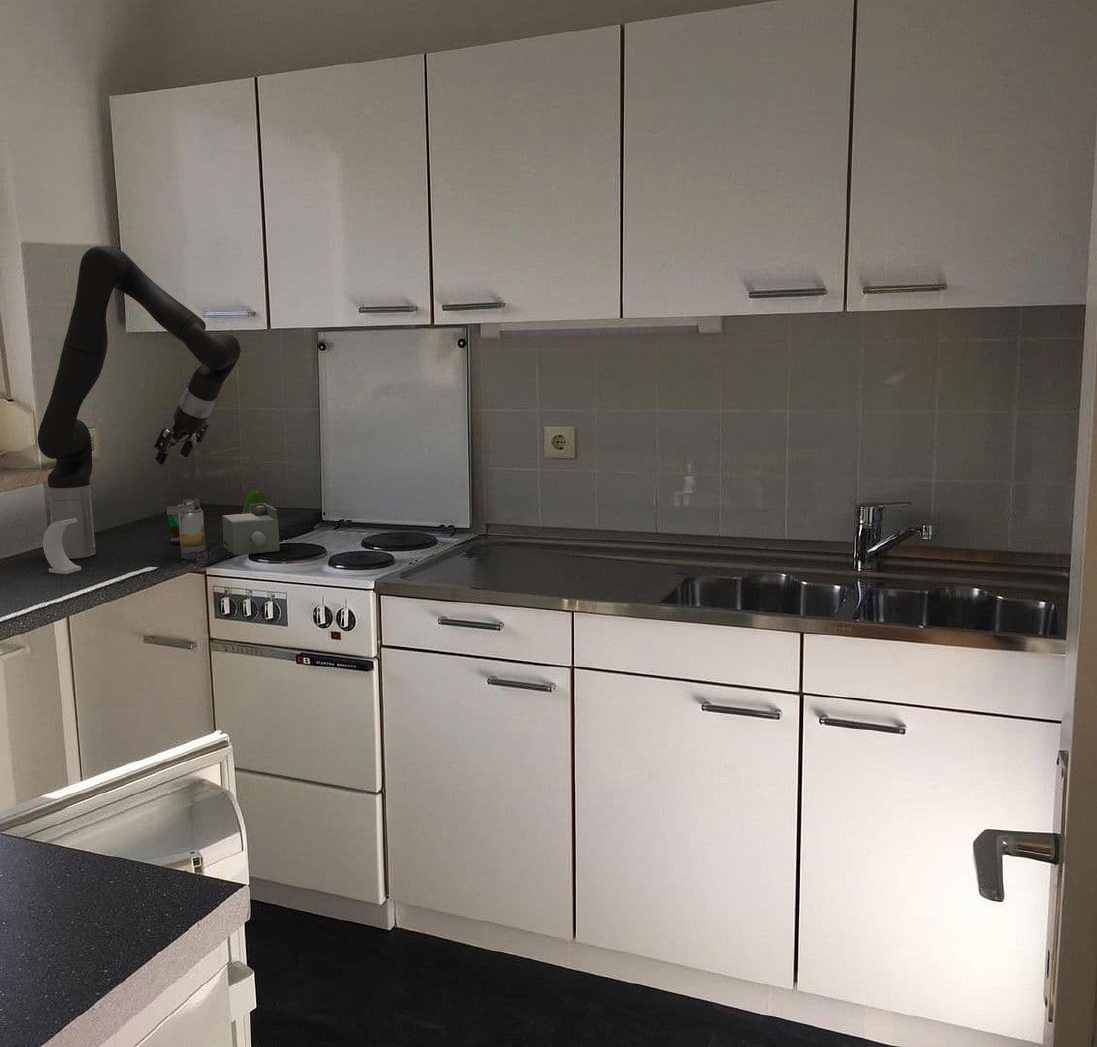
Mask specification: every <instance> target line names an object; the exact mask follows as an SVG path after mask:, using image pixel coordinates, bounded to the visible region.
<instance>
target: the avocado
mask: <svg viewBox="0 0 1097 1047" xmlns="http://www.w3.org/2000/svg"><path fill="white" fill-rule="evenodd" d="M259 503H266V504H268V505H270V506H271V504H270V503H269V500H268V499H267V497H266V495H265V494H263V493H262V492H261V491H259V490H257V489H256V490H251V491H250V492H249V493H248V494H247V495H246V498H245V502H244V506H243V509H242V513H241V514H248V513H249V504H259Z"/></svg>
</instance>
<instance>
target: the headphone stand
mask: <svg viewBox="0 0 1097 1047" xmlns="http://www.w3.org/2000/svg"><path fill="white" fill-rule="evenodd" d="M74 522H77V518H73V519H68V520H63V521H58V522H54V523H52V524H51V523H50V524H49V525H48V527H47V528H46V530H45V531H44V534H43V538H42V544H43V545H42V546H43V547H42V548H43V551H44V556H45V558H46V560H47V562H48V563H49V565H50V566H51V567H50V568H48V572H49V573H54V574H60V575H61V574H62V575H67V574H71V573H74V572H75V573H76V572H78V571H81V570H82V566H81V565H77V564H75V563H74V562H72V561H71V559H68V558H67V556H66V554H65V552H64V550H63V546H62V535H63V531H64V529H65V528H66V526H67V525H69V524H70V523H74Z"/></svg>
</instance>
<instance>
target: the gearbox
mask: <svg viewBox="0 0 1097 1047" xmlns="http://www.w3.org/2000/svg"><path fill="white" fill-rule="evenodd" d="M221 520H222V538H223V539H222V540H223V542H224V541H226V542H227V544H228V546H227V545H226V544H224V543H223V548H225V549H226V550H227V551H228V552H230V553H231V554H232V555H234V556H243V555H252V554H261V553H263V554H264V553H270V552H273V553H274V552H280V550H281V549H280V533H279V532H280V531H279V518H278V509H277V508H275V507H273V506H272V505H271V504H270V505H268V504H266V503H259V504H249V513H248V514H242V513H237V514H228V515H227V514H225V515H224V514H223V515H221Z"/></svg>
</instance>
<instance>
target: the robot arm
mask: <svg viewBox="0 0 1097 1047" xmlns="http://www.w3.org/2000/svg"><path fill="white" fill-rule="evenodd" d="M79 263H80V264H79V271H78V278H77V286H76V294H75V298H74V299H75V300H74V304H73V309H72V312H71V315H70V319H69V324H68V328H67V330H66V331H67V332H66V335H65V337H64V340H63V346H62V350H61V352H60V353H61V354H60V359H59V364H58V366H57V367H58V368H57V372H56V374H55V380H54V382H53V387H52V389H51V390H52V391H51V395H50V398H49V401H48V405H47V407H46V409H45V411H44V415H43V417H42V420H41V423H40V425H39V428H38V432H37V446H38V449H39V451H40V452H41V453H42V454H43V455H44V456H45V457H46V458H48V459H52V460H56V463H55V466H54V468H53V469H52V471H51V472H50V473H49V474H48V475H47V487H48V498H49V509H50V510H49V512H50V517H49V519H50V525H51V524H52V523H54V522H58V521H63V520H68V519H73V518H77V522H74V523H70V524H69V525H67V526H66V528H65V529H64V531H63V535H62V546H63V550H64V552H65V554H66V556H67V558H68V559H69V560H71V559H72V560H73V559H82V558H88V557H92V556H95V555H96V541H95V540H96V539H95V529H94V528H95V526H94V518H93V517H94V516H93V502H92V492H91V491H92V490H91V475H92V473H93V447H92V446H93V444H92V443H93V442H92V436H91V433H90V432H91V431H90V430H89V427H88V426H87V425H86V423H85V422H83V421H82V420H80V419H78V415H79V411H80V409H81V407H82V404H83V402H84V400H85V399H86V397H87V396H88V395H89V393H90V391H92V389H93V388H94V386H95V384H96V382H97V381H98V379H99V378H100V375H101V373H102V370H103V367H104V363H105V359H106V355H107V352H108V344H109V342H108V340H109V339H108V338H109V337H108V329H107V328H108V326H107V312H108V311H107V310H108V306H109V302H110V298H111V296H112V293H113V291H114V289H116V290H117V291H120V292H122V293H124V294H125V295H126V296H129V297H130V298H132V299H133V300H134V301H136V302H137V303H138V304H140V306H142V307H143V308H144V309H145V311H146V312H147V313H148V314H149V315H150V316H151V318H153V320H154V321H155V322H156V323H158V325H159V326H161V327H162V328H163V329H165V331H167V332H168V333H169V334H171V335H172V336H174V337H175V338H176V339H178V340H179V341H181V343H183V344H184V346H186V347H187V349H188V350H189V352H191V354H192V355H193V356H194V357H195V358H196V359H197V361H198V362H199V363H201V365H199V367H198V368H196V370H194V372H193V374H192V377H191V378H190V380H189V382H188V385H187V387H186V389H185V390H184V392H183V393H182V395H181V397H180V400H179V402H178V404H177V407H176V409H175V411H174V413H173V420H174V424H173V426H172V427H171V428H169V429H168V428H167V427H163V428H162V429H161V431H160V433H159V436H158V437H157V439H156V441H155V443H154V445H153V446H154V448H155V449H156V450H158V452H157V455H156V456H155V461H156V462H157V463H158V464H159V465H165V462H166V460H167V457H168V455H169V453H170V451H172V449H176V448H177V447H178V446H179V445H180V444H182V443H183V445H182V447H181V449H180V455H181V456H182V457H184V458H189V457H190V454H191V452H192V450H193V448H194V447H195V446H197V444H198V443H199V444H201V443H202V442H203V439H204V438H205V435H206V433H207V430H208V428H209V426H210V425H209V424H208V423H207V422H208V420H209V417H210V415H211V414H212V412H213V409H214V406H215V404H216V401H217V398H218V396H219V395H220V392H221V389H222V387H223V384H224V383H225V381H226V379H227V378H228V377H229V375H230V374H231V372H232V370H234V367H235V366H236V364H237V363H238V360H239V359H240V356H241V352H242V351H241V345H240V342H239V340H238V339H237V338H236V337H235V336H233V335H232V334H228V333H222V334H218V335H216V336H215V337H212V336H211V335H210V334H209V333H208V332H207V331H206V328H207V326H206V325H207V324H206V323H205V321H204V320H203V319H202V318H201V317H200V316H198V315H197V314H196V313H194V312H193V311H192V310H190V309H189V308H188V307H186V306H185V305H184V304H182V303H181V302H180V301H178V300H177V299H176V298H175V297H173V296H171V295H170V294H169V293H168V292H166V291H165V290H164V289H162V287H160V286H159V285H158V284H157V283H156V282H155V281H153V280H152V279H151V278H150V277H149V276H148V275H147V274H146V273H145V272H144V271H143V270H142V269H141V268H140V267H139V266H138V265H137V264H136V263H135V262H134V260H132V259H131V257H129V256H128V255H127V254H126V253H125V252H124V251H122V250H121V249H119V248H116V247H111V246H99V245H98V246H93V247H91V248H89V249H88V250H87V251H85V252H84V253H83V255H82V258H81V260H80V262H79ZM198 434H199V435H198ZM172 439H173V440H174V442H173V441H172ZM168 445H169V446H168Z"/></svg>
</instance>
